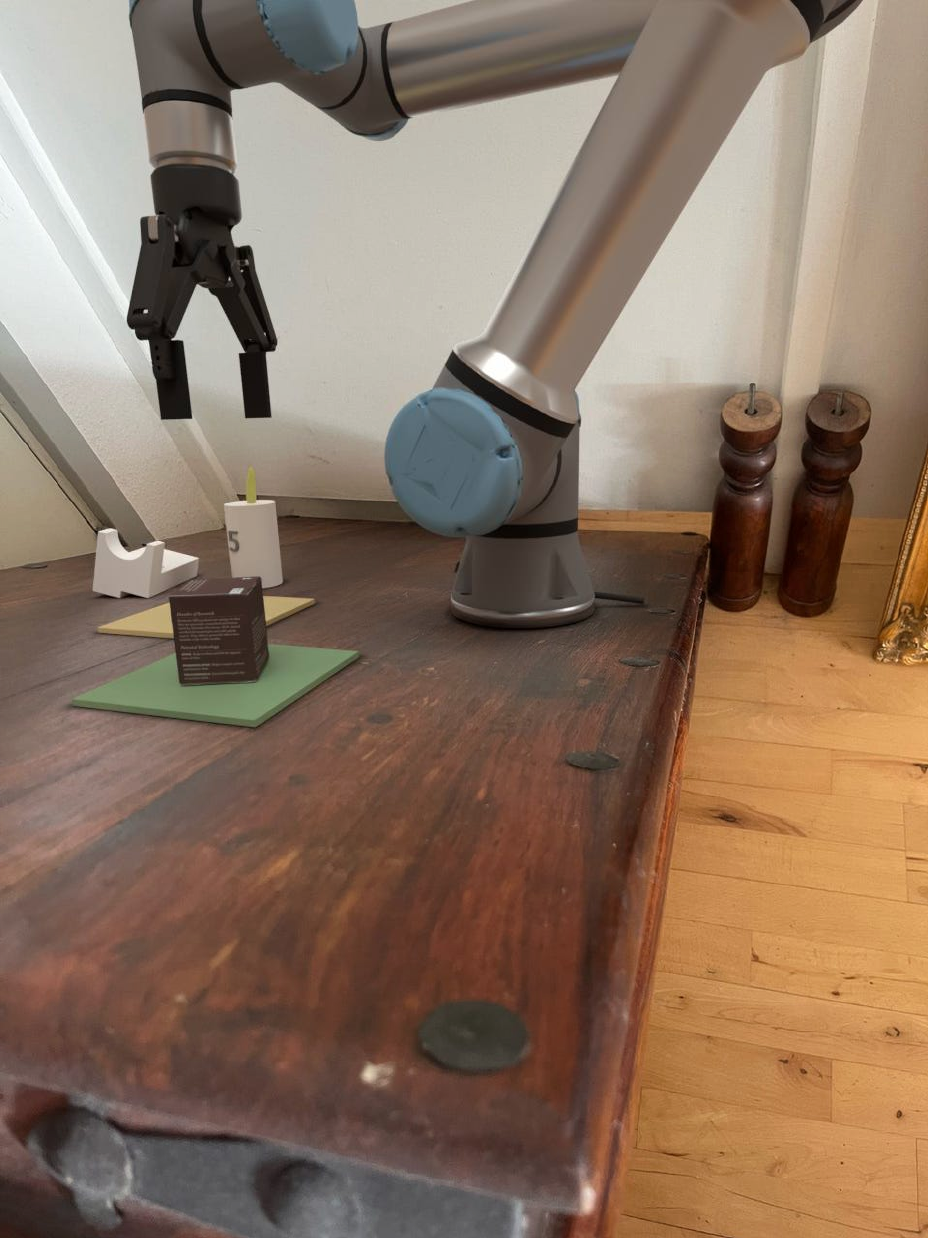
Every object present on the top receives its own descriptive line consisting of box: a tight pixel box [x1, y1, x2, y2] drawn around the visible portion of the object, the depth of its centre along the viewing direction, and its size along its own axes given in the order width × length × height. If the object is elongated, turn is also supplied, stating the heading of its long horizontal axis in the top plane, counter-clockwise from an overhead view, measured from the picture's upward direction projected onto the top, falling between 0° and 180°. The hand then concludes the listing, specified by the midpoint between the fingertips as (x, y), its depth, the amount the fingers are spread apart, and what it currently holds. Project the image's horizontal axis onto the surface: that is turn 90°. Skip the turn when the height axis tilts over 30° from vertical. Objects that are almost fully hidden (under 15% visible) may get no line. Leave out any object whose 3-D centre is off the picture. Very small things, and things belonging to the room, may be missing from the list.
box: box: [167, 576, 269, 686], centre depth 60 cm, size 6×6×7 cm
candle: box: [223, 466, 284, 589], centre depth 95 cm, size 6×6×15 cm
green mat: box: [71, 643, 360, 728], centre depth 61 cm, size 16×16×1 cm
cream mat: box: [97, 595, 316, 640], centre depth 81 cm, size 16×16×1 cm
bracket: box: [92, 528, 200, 599], centre depth 96 cm, size 13×7×8 cm, turn 174°
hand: (221, 419), depth 72 cm, fingers open, 13 cm apart
